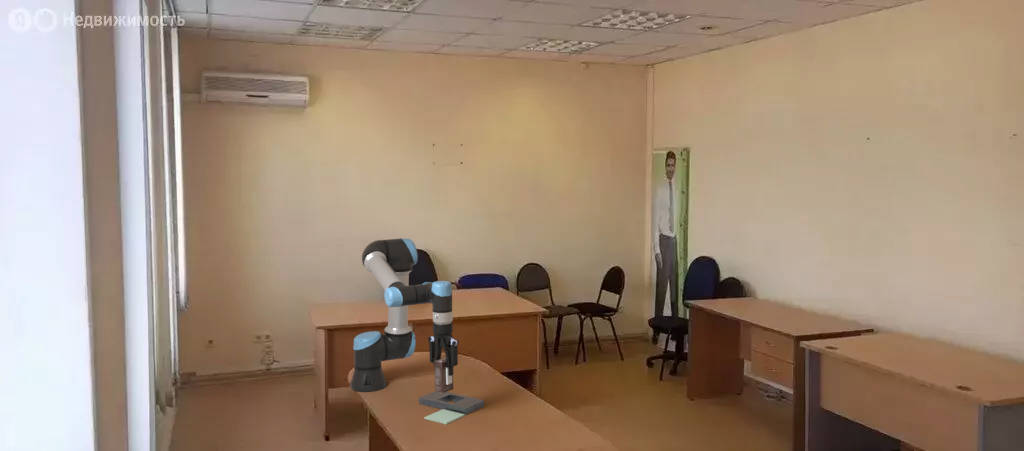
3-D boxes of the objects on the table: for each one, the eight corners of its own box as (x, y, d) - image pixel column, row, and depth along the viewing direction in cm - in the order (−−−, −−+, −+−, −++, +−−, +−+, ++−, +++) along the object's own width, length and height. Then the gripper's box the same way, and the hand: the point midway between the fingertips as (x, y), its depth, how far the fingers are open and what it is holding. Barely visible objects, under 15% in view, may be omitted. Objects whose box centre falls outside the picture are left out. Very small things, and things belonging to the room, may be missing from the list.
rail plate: (419, 403, 302) (418, 397, 302) (438, 395, 312) (438, 389, 312) (465, 414, 289) (465, 408, 288) (484, 406, 299) (484, 400, 298)
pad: (424, 418, 285) (424, 417, 285) (443, 410, 294) (442, 409, 294) (446, 424, 279) (446, 422, 279) (464, 415, 288) (464, 414, 288)
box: (445, 387, 289) (445, 357, 288) (453, 389, 286) (453, 359, 285) (434, 391, 284) (433, 360, 283) (442, 393, 282) (442, 362, 280)
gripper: (418, 321, 285) (420, 381, 287) (454, 326, 275) (455, 388, 277) (431, 317, 291) (433, 376, 293) (467, 323, 281) (468, 383, 283)
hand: (444, 382), depth 285 cm, fingers closed on box, 4 cm apart
